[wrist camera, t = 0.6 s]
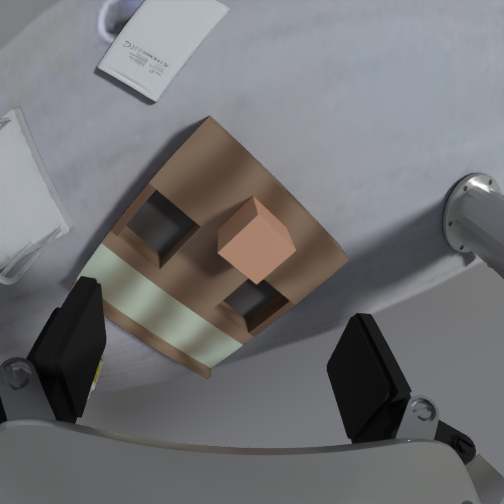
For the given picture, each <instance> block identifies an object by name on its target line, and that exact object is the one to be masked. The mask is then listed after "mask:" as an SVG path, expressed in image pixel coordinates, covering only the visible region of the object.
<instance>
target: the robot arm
mask: <svg viewBox="0 0 504 504" xmlns="http://www.w3.org/2000/svg"><path fill="white" fill-rule="evenodd" d="M443 231H444V236H445V238H446V240H447V242H448V243H449V245H450V246H451V247H453V248H454V249H455V250H457V251H458V252H462V253H468V252H472V251H473V252H474V253H475V254H476V255H478V256H479V257H480V258H481V259H482V260H483V261H484V262H485V263H487V266H488V267H490V268H492V269H493V270H494V271H496V272H497V273H498V274H499V275H500V276H501V277H502V278H503V279H504V195H502V194H501V190H500V187H499V185H498V183H497V182H496V181H495V180H494V179H493V178H492V177H491V176H489V175H487V174H484V173H474V174H471V175H468V176H467V177H465V178H464V179H463V180H462V181H461V182H459V183H458V185H457V186H456V187H455V188H454V190H453V191H452V193H451V195H450V197H449V199H448V201H447V204H446V207H445V211H444V216H443ZM105 346H106V330H105V321H104V311H103V300H102V287H101V284H100V283H97V280H96V279H95V278H91V277H85V276H81V277H80V278H79V279H78V281H77V282H76V284H75V286H74V287H73V289H72V290H71V292H70V294H69V295H68V297H67V298H66V300H65V302H64V303H63V305H62V307H61V308H59V307H57V308H55V310H54V311H53V313H52V314H51V316H50V318H49V319H48V321H47V323H46V324H45V326H44V328H43V329H42V331H41V333H40V335H39V336H38V338H37V340H36V342H35V344H34V345H33V347H32V349H31V351H30V353H29V355H28V356H27V358H26V359H24V358H20V357H15V358H10V359H8V360H6V361H4V362H3V363H2V364H1V365H0V504H500V502H501V501H502V499H503V497H504V478H503V476H502V475H501V474H500V473H499V472H497V470H496V469H494V468H493V467H492V466H491V465H490V464H489V463H488V462H487V461H486V460H485V459H484V458H483V457H482V456H481V455H480V454H478V455H477V456H476V454H475V453H476V449H475V445H474V443H473V441H472V440H471V439H470V438H469V437H468V436H467V435H465V434H463V433H461V432H460V431H458V430H456V429H454V428H452V427H451V426H449V425H447V424H445V423H444V422H442V421H440V420H439V410H438V407H437V406H436V404H435V403H434V402H433V401H432V400H431V399H429V398H428V397H425V396H423V395H416V396H413V397H412V398H411V396H410V392H411V389H410V387H409V385H408V383H407V381H406V379H405V377H404V375H403V373H402V371H401V370H400V367H399V365H398V363H397V361H396V360H395V357H394V355H393V354H392V352H391V350H390V348H389V346H388V344H387V342H386V340H385V339H384V337H383V335H382V333H381V331H380V329H379V327H378V326H377V324H376V322H375V320H374V318H373V317H372V315H371V314H363V313H356V314H355V315H354V316H352V317H351V318H350V320H349V322H348V324H347V326H346V328H345V330H344V332H343V334H342V336H341V338H340V340H339V342H338V344H337V346H336V348H335V350H334V352H333V354H332V356H331V358H330V360H329V361H328V364H327V373H328V376H329V379H330V382H331V385H332V389H333V391H334V395H335V398H336V401H337V405H338V408H339V411H340V414H341V418H342V421H343V424H344V428H345V431H346V434H347V437H348V438H349V439H351V441H352V444H347V445H336V446H324V447H305V448H235V447H218V446H205V445H193V444H184V443H175V442H168V441H160V440H154V439H148V438H142V437H136V436H130V435H125V434H120V433H115V432H110V431H105V430H100V429H96V428H91V427H87V426H82V425H77V424H75V423H76V420H77V417H80V418H81V417H82V414H83V412H84V409H85V405H86V402H87V399H88V396H89V393H90V389H91V386H92V383H93V380H94V377H95V374H96V371H97V368H98V366H99V363H100V360H101V357H102V354H103V351H104V349H105Z"/></svg>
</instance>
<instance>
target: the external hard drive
mask: <svg viewBox="0 0 504 504" xmlns="http://www.w3.org/2000/svg"><path fill="white" fill-rule="evenodd" d="M229 12H230V9H229V8H227V7H226V6H224V5H223V4H221V3H219V2H218V1H216V0H145V1H144V2H143V4H142V5H141V6H140V7H139V9H138V10H137V11H136V12H135V14H134V15H133V16H132V18H131V19H130V20H129V21H128V23H127V24H126V25H125V27H124V28H123V30H122V31H121V32H120V34H119V35H118V36H117V38H116V39H115V41H114V42H113V44H112V45H111V47H110V48H109V50H108V51H107V53H106V54H105V56H104V57H103V59H102V60H101V62H100V63H99V65H98V68H99V69H101V70H103V71H105V72H106V73H108V74H110V75H112V76H113V77H115V78H117V79H118V80H120V81H122V82H124V83H125V84H127V85H128V86H130V87H132V88H133V89H135V90H137V91H138V92H140V93H142V94H143V95H145V96H147V97H148V98H150V99H151V100H153V101H155V102H158V101H159V100H160V98H161V97H162V95H163V94H164V92H165V91H166V90H167V88H168V87H169V85H170V84H171V83H172V81H173V80H174V79H175V77H176V76H177V75H178V73H179V72H180V71H181V69H182V68H183V67H184V65H185V64H186V63H187V61H188V60H189V59H190V58H191V56H192V55H193V54H194V53H195V51H196V50H197V49H198V48H199V46H200V45H201V44H202V43H203V41H204V40H205V39H206V38H207V37H208V35H209V34H210V33H211V32H212V31H213V30H214V28H215V27H216V26H217V25H218V24H219V23H220V22H221V20H222V19H223V18H224V17H225V16H226V15H227V14H228V13H229Z"/></svg>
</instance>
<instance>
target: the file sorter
mask: <svg viewBox="0 0 504 504" xmlns="http://www.w3.org/2000/svg"><path fill="white" fill-rule="evenodd" d="M73 227H74V224H73V222H72V220H71V219H70V217H69V215H68V213H67V211H66V209H65V207H64V206H63V204H62V202H61V200H60V198H59V196H58V194H57V192H56V190H55V188H54V186H53V184H52V182H51V180H50V178H49V175H48V173H47V171H46V169H45V167H44V165H43V163H42V160H41V158H40V156H39V154H38V151H37V149H36V147H35V144H34V142H33V140H32V137H31V135H30V132H29V130H28V127H27V125H26V122H25V120H24V117H23V114H22V112H21V109H20V108H19V107H18V108H14V109H11V110H10V111H9V112H8V113H6V114H5V115H4V116H3V117H2V118H1V119H0V270H1V269H2V268H4V267H6V266H7V267H6V268H5V269H4V270H3V271H2V272H1V274H0V283H2V284H6V285H11V284H14V283H16V282H17V281H18V280H20V278H21V277H22V276H23V275H24V274H25V273H26V271H27V270H28V269H29V268H30V267H31V265H32V264H33V263H34V262H35V261H36V259H37V258H38V257H39V256H40V255H41V253H42V252H43V251H44V250H45V249H46V247H47V246H48V245H49V244H50V243H51V242H52V241H53V240H55V239H57V238H59V237H61V236H63V235H65V234H67V233H69V232H70V231H71V229H72V228H73ZM38 248H39V249H38ZM36 249H38V250H37V251H36V252H35V253H34V254H33V256H32V257H31V258H30V259H29V260H28V261H27V263H26V264H25V265H24V266H23V267H22V268H21V269H20V271H19V272H18V273H17V274H16V275H15V276H14V277H13V278H6V277H4V276H5V275H6V274H7V273H8V272H9V270H10V269H11V268H12V267H13V266H14V265H15V264H16V263H17V262H18V261H19V260H20V259H21V258H22V257H23V256H25V255H27V254H29V253H31V252H32V251H34V250H36Z"/></svg>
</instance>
